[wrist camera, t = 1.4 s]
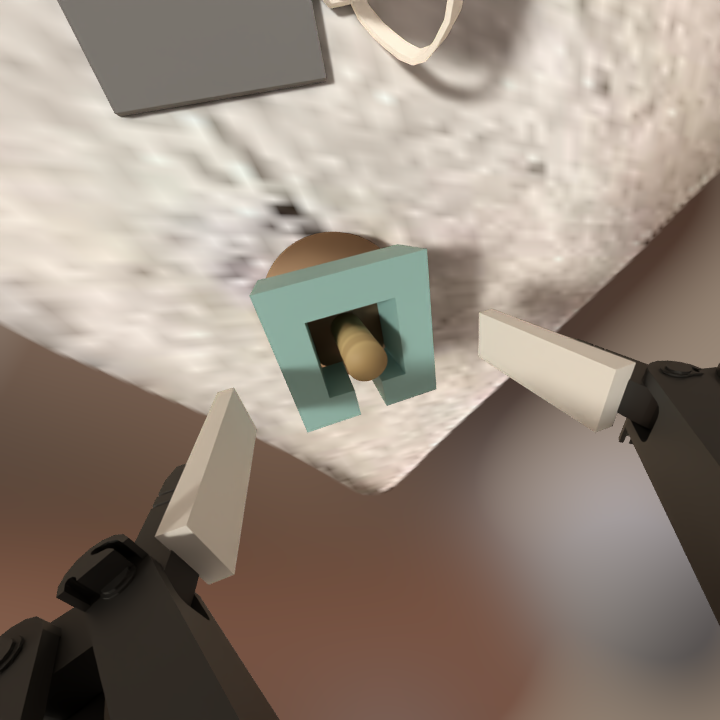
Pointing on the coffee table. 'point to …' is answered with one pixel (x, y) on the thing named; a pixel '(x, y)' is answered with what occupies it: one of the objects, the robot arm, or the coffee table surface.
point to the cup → (390, 38)
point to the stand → (347, 329)
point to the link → (340, 294)
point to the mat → (195, 49)
